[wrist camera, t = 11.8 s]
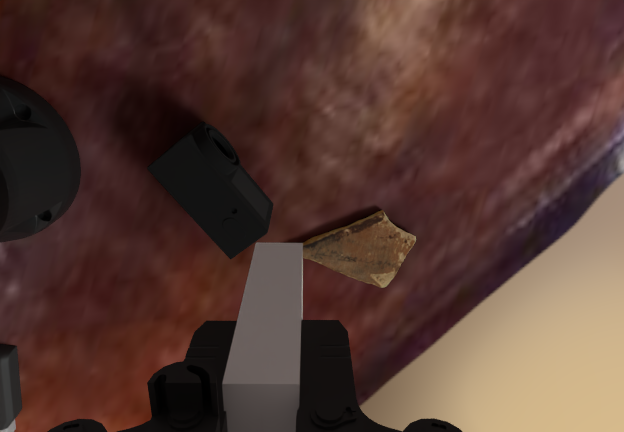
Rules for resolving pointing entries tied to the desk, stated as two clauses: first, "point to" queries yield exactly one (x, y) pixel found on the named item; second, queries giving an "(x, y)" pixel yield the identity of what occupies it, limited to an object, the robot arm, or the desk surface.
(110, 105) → the desk surface
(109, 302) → the desk surface
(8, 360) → the usb drive
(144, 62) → the desk surface
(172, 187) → the digital camera
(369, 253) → the shard
